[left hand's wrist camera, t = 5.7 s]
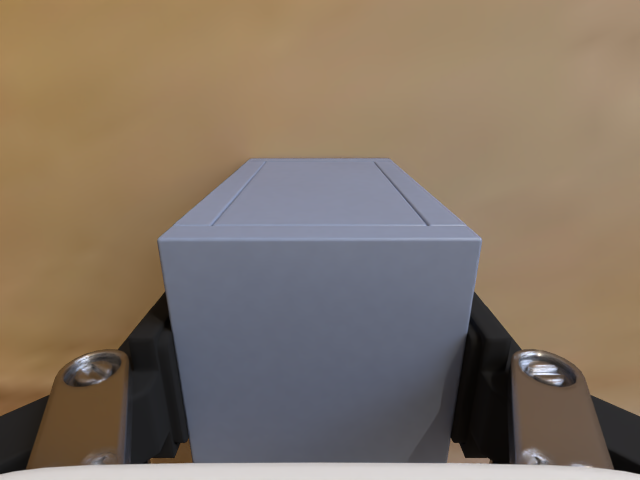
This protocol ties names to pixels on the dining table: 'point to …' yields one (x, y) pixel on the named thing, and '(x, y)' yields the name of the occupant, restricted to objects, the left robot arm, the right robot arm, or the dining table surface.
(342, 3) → the dining table surface
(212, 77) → the dining table surface
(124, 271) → the dining table surface
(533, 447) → the left robot arm
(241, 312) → the cabinet
